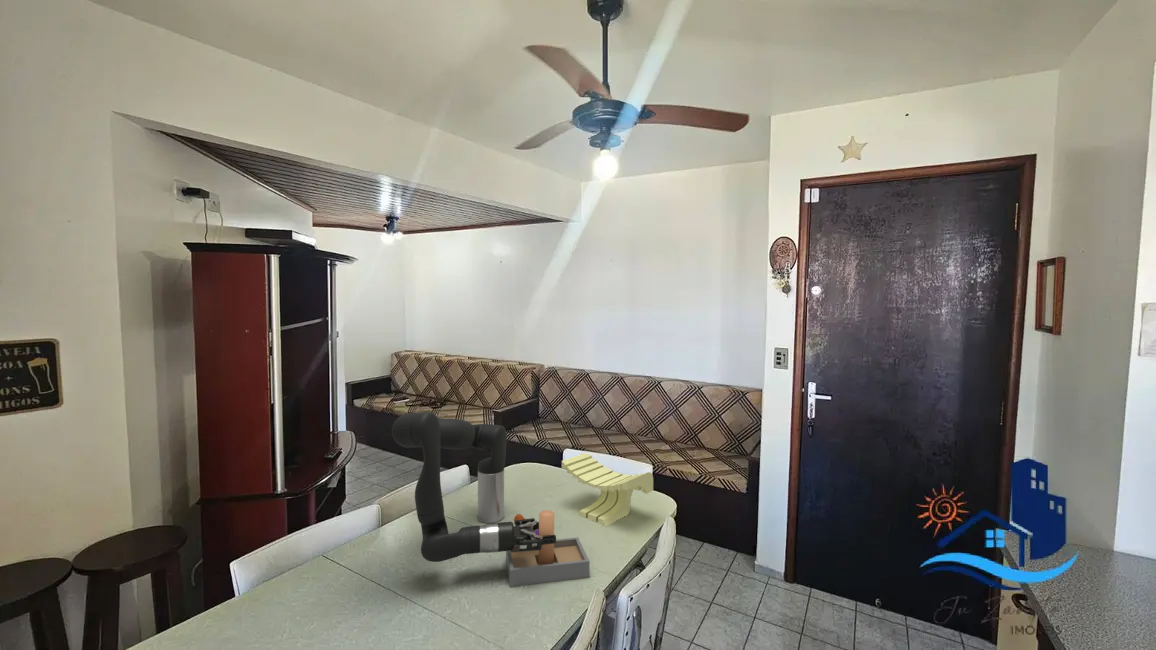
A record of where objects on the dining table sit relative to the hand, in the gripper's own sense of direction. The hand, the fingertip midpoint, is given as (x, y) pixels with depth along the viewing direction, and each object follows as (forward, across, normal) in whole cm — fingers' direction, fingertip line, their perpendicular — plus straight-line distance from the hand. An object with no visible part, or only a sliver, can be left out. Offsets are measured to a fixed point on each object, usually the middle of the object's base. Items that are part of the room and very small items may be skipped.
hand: (553, 531), depth 137 cm
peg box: (-2, 0, +10) cm, 11 cm away
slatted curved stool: (+25, +31, +11) cm, 42 cm away
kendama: (-4, +21, +11) cm, 24 cm away
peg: (-2, 0, +10) cm, 11 cm away
